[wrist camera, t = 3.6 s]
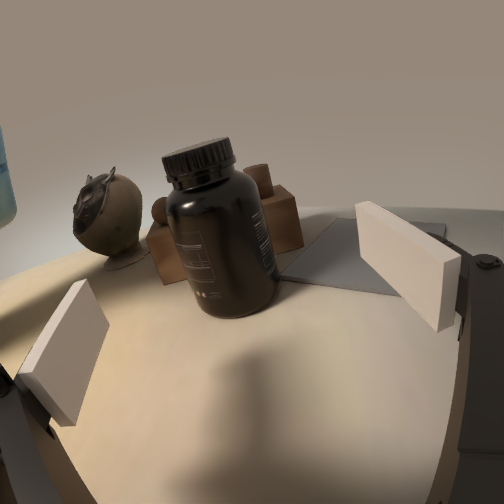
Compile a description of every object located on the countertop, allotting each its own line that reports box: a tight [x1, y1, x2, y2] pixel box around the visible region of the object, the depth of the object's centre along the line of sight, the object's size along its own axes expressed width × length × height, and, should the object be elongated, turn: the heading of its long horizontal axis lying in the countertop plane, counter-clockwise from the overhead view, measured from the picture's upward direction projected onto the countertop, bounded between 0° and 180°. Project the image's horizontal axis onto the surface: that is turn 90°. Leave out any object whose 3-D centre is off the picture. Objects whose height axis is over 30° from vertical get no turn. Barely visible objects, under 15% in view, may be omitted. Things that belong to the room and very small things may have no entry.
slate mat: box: [280, 218, 446, 296], centre depth 27 cm, size 12×12×1 cm
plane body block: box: [146, 164, 304, 285], centre depth 32 cm, size 14×6×8 cm, turn 98°
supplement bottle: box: [162, 137, 281, 318], centre depth 23 cm, size 7×7×12 cm
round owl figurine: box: [73, 167, 150, 270], centre depth 38 cm, size 10×12×10 cm
